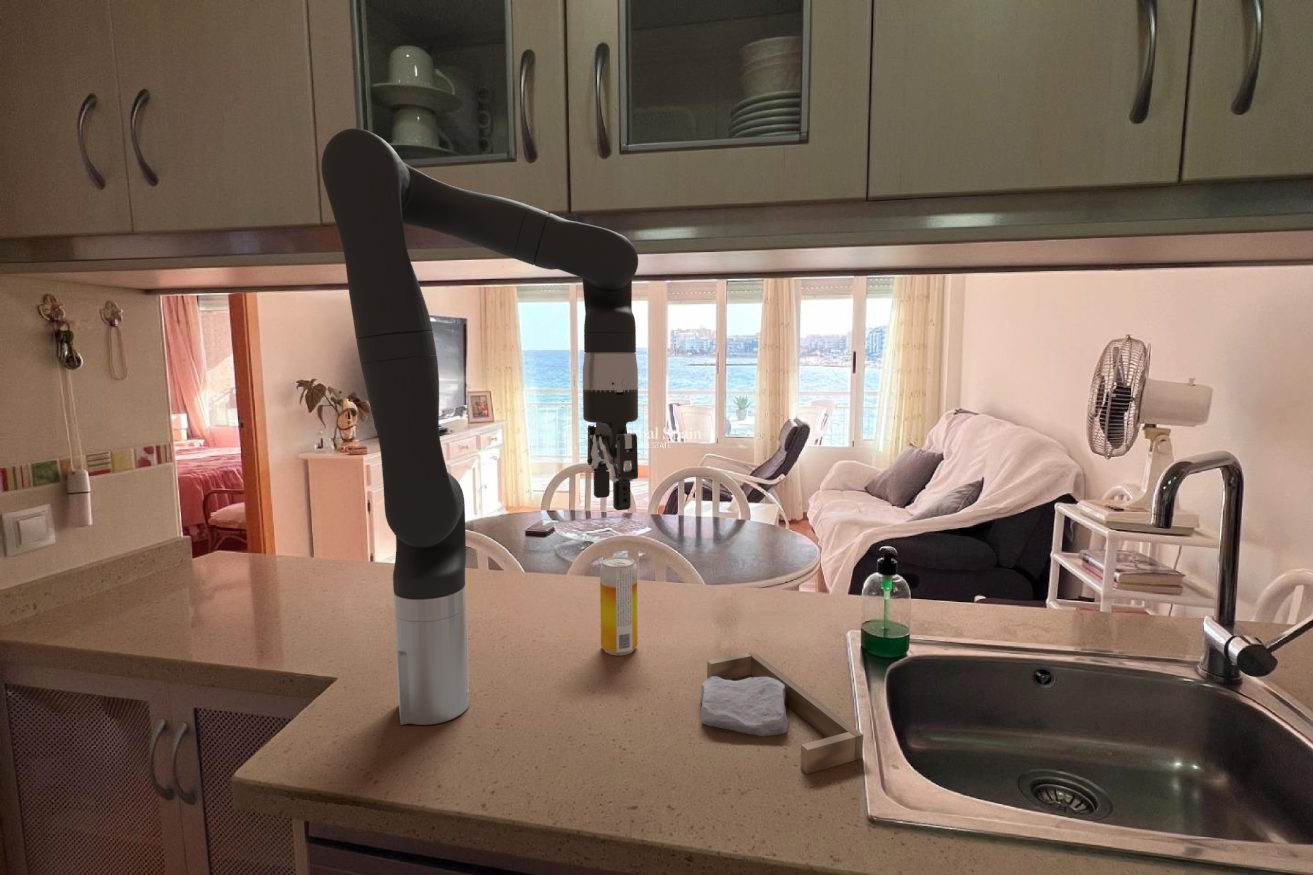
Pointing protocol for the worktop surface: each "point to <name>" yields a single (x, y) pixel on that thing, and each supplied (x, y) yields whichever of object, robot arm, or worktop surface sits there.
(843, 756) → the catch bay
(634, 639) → the beer can
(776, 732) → the stone block
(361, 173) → the robot arm
